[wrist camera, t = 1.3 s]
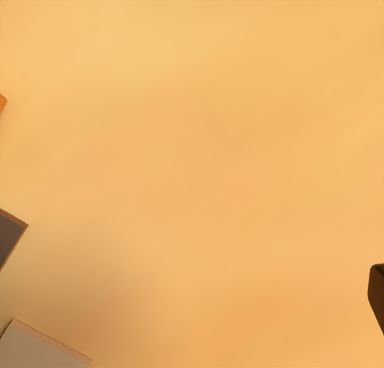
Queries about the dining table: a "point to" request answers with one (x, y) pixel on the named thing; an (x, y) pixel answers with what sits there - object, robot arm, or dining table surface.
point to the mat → (36, 350)
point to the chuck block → (8, 223)
